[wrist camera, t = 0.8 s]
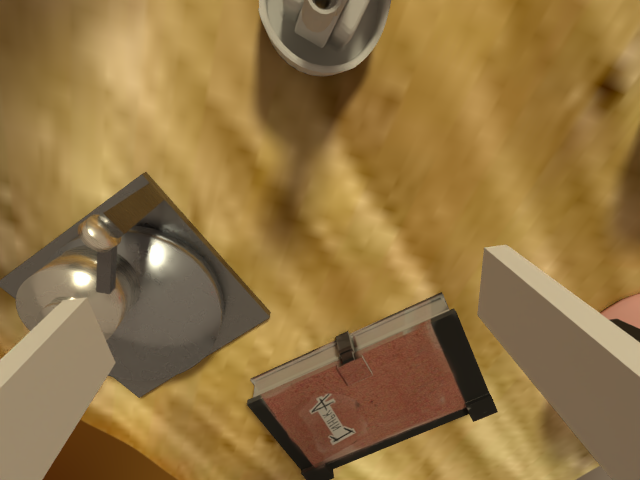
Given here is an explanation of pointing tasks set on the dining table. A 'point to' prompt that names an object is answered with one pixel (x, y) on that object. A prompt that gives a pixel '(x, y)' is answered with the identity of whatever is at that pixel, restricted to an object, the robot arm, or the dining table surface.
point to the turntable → (163, 307)
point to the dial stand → (115, 232)
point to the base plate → (166, 217)
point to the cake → (625, 310)
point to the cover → (78, 289)
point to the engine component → (324, 32)
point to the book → (372, 389)
